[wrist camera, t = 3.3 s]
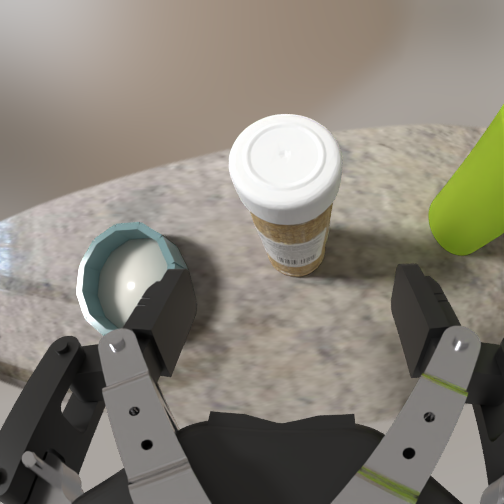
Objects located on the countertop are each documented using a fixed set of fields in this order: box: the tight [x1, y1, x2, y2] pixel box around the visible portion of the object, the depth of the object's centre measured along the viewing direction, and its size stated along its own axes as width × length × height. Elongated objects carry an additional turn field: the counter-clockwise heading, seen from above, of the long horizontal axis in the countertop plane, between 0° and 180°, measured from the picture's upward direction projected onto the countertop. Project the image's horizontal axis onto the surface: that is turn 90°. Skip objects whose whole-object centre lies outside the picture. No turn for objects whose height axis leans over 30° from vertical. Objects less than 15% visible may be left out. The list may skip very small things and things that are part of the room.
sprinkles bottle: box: [229, 114, 343, 277], centre depth 18 cm, size 5×5×14 cm
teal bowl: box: [76, 222, 188, 336], centre depth 24 cm, size 9×9×3 cm
